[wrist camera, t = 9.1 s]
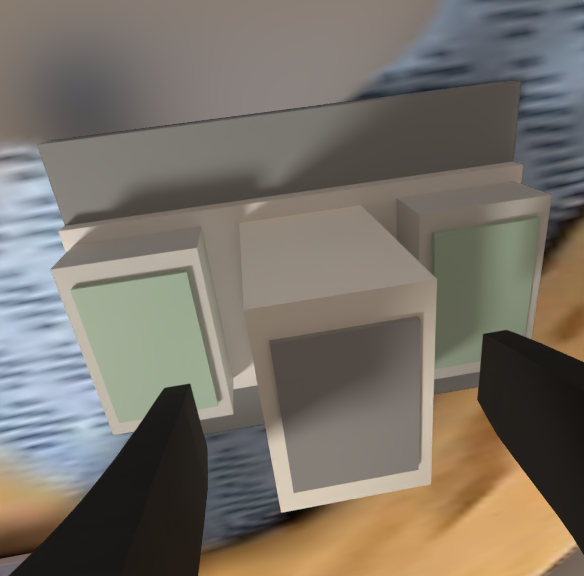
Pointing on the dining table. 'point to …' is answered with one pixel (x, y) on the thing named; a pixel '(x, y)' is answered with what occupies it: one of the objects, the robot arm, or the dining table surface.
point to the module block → (340, 354)
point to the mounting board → (278, 203)
